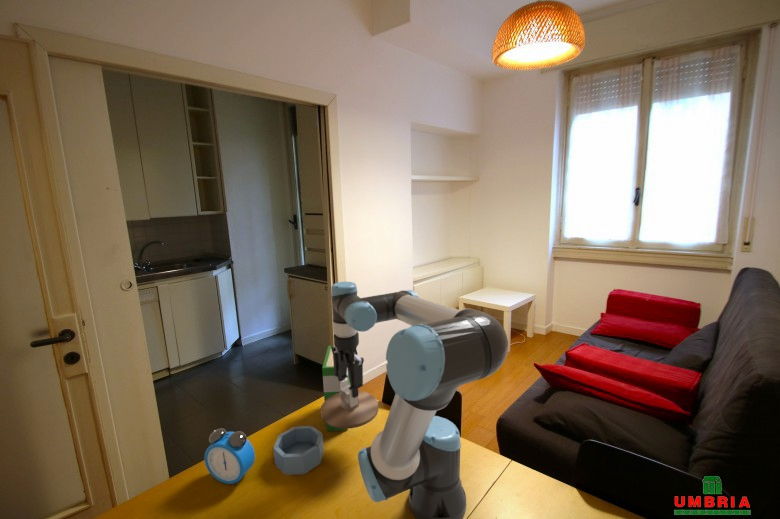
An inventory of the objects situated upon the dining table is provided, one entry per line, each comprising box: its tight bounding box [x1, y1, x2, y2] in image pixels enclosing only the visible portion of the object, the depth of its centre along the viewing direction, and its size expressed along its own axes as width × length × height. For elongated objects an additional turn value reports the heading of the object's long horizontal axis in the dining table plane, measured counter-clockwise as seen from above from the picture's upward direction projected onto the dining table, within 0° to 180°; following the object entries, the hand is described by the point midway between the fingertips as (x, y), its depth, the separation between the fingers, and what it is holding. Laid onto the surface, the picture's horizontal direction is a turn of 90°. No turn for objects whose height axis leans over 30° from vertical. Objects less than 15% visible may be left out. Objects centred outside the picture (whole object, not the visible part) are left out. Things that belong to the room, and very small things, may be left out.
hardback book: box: [321, 345, 350, 432], centre depth 134 cm, size 18×7×24 cm, turn 2°
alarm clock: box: [203, 427, 256, 486], centre depth 106 cm, size 13×6×15 cm, turn 75°
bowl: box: [272, 425, 324, 476], centre depth 114 cm, size 14×14×6 cm
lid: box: [320, 385, 379, 430], centre depth 114 cm, size 18×18×7 cm
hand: (349, 401), depth 114 cm, fingers closed on lid, 4 cm apart
